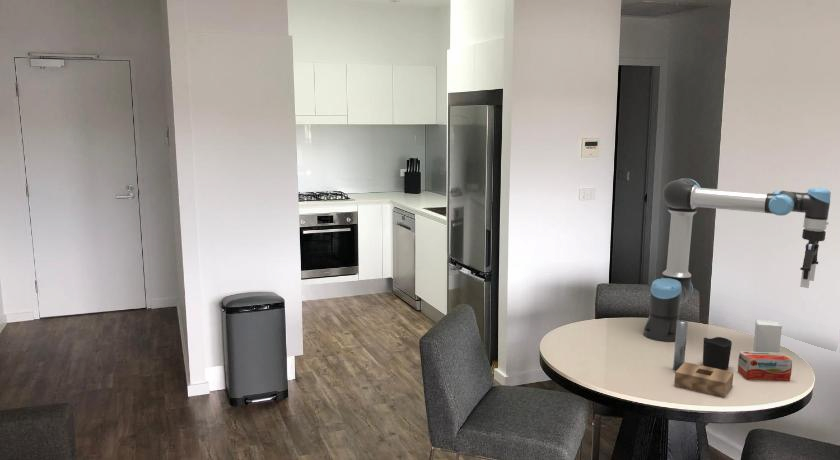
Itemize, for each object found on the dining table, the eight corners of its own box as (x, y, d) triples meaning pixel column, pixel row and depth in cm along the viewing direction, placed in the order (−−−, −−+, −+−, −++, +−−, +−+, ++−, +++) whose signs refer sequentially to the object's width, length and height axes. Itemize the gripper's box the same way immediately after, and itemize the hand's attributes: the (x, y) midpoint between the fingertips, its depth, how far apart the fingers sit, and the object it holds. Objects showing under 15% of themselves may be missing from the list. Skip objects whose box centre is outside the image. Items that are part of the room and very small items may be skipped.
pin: (671, 370, 247) (675, 322, 244) (674, 367, 250) (678, 319, 247) (682, 372, 245) (686, 323, 242) (684, 369, 247) (688, 321, 244)
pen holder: (727, 373, 245) (729, 346, 243) (699, 367, 250) (701, 341, 248) (731, 365, 253) (733, 339, 251) (704, 360, 257) (706, 334, 256)
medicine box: (779, 373, 246) (781, 351, 244) (790, 381, 238) (793, 360, 236) (736, 371, 246) (738, 350, 245) (746, 380, 238) (748, 358, 237)
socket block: (674, 385, 232) (675, 371, 231) (683, 375, 242) (684, 361, 241) (724, 397, 223) (725, 383, 222) (732, 386, 233) (733, 372, 232)
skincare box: (775, 360, 258) (780, 321, 255) (778, 366, 252) (783, 326, 249) (751, 358, 260) (755, 318, 258) (753, 363, 254) (757, 323, 252)
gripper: (821, 235, 247) (813, 292, 251) (830, 226, 266) (822, 279, 270) (798, 232, 251) (790, 288, 255) (808, 224, 271) (801, 276, 275)
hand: (807, 283), depth 263 cm, fingers open, 13 cm apart
